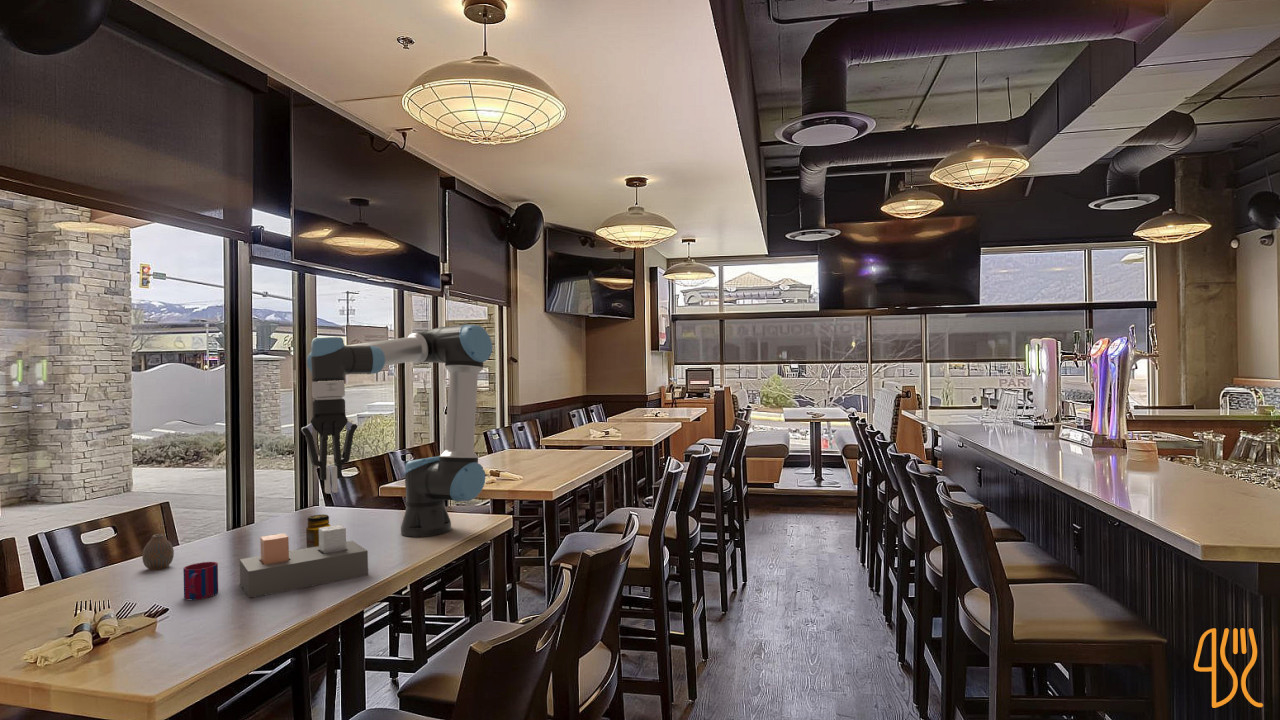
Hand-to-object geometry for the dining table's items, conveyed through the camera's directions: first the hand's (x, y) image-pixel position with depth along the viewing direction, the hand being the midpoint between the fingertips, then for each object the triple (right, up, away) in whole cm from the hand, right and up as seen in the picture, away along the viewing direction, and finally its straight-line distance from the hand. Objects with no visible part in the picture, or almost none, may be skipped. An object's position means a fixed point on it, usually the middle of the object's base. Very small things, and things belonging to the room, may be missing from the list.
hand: (331, 492), depth 175 cm
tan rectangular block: (-10, -15, -8) cm, 20 cm away
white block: (0, -15, 0) cm, 15 cm away
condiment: (-10, -21, +13) cm, 27 cm away
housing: (-5, -21, -4) cm, 21 cm away
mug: (-23, -21, -16) cm, 35 cm away
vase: (-51, -22, +11) cm, 57 cm away
